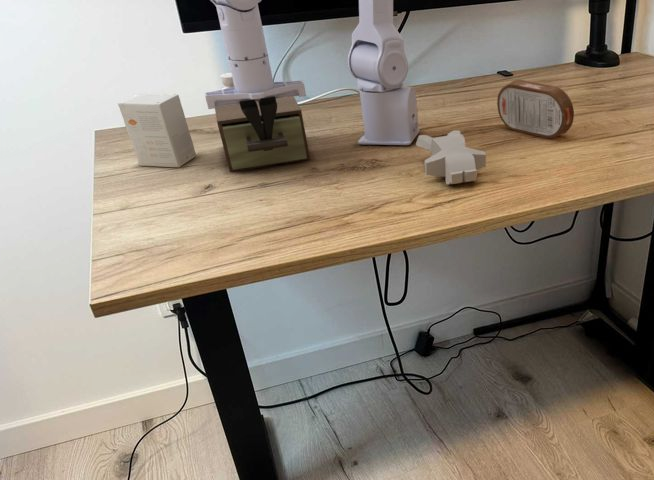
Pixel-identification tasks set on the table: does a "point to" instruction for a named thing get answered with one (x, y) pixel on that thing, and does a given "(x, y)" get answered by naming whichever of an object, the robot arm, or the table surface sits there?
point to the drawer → (265, 143)
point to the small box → (157, 130)
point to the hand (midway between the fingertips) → (267, 148)
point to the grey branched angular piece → (451, 158)
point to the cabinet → (283, 109)
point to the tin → (535, 108)
